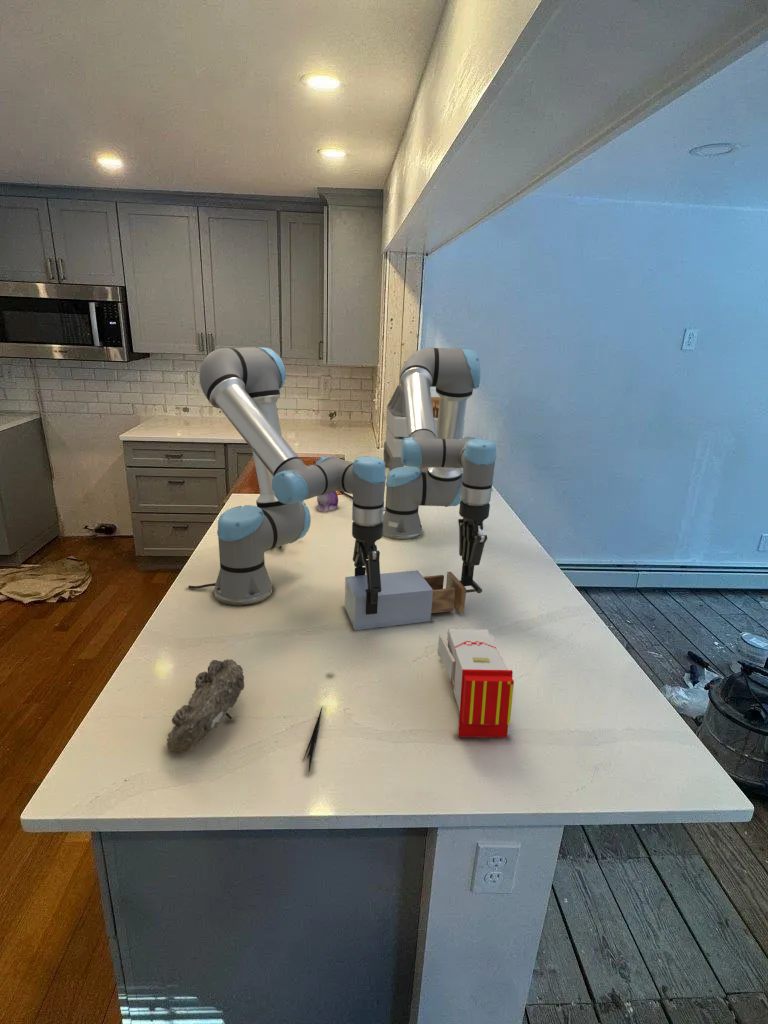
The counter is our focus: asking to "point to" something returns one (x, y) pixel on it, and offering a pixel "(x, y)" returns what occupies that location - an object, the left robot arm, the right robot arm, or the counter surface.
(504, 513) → the counter surface
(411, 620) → the cabinet
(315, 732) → the feather
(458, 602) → the drawer
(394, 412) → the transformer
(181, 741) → the fossil
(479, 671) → the toy
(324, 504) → the figurine
